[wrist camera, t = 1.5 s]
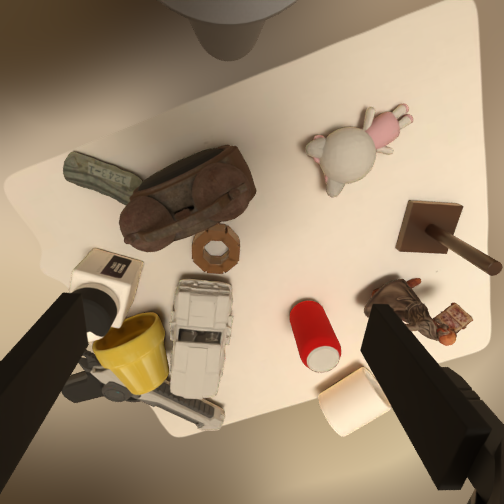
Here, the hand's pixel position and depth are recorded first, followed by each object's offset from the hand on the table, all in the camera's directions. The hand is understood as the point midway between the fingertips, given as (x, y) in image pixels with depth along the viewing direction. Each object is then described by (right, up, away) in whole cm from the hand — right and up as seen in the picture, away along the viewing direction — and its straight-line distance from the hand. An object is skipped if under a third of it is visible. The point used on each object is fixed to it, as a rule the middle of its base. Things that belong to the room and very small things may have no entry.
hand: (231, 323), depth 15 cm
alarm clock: (-7, +14, +32) cm, 35 cm away
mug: (+18, -24, +43) cm, 52 cm away
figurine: (+26, -3, +42) cm, 49 cm away
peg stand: (+29, +7, +37) cm, 48 cm away
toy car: (-8, -9, +42) cm, 44 cm away
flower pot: (-15, -18, +38) cm, 45 cm away
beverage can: (+10, -7, +43) cm, 45 cm away
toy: (+16, +19, +31) cm, 40 cm away
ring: (-5, +4, +36) cm, 37 cm away
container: (-21, 0, +37) cm, 43 cm away
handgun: (-25, -29, +49) cm, 62 cm away
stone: (-17, +15, +30) cm, 38 cm away
